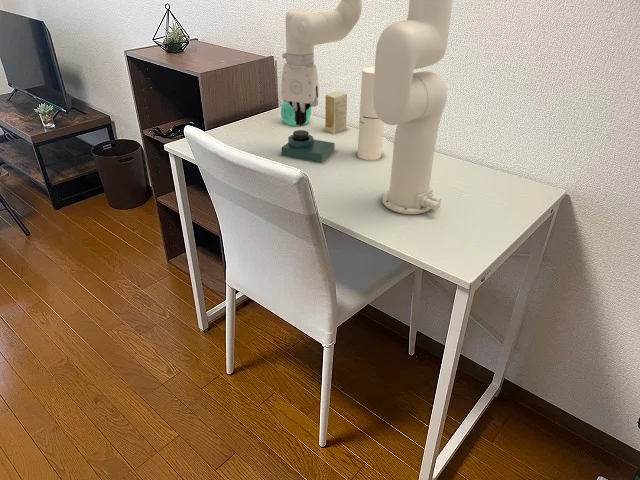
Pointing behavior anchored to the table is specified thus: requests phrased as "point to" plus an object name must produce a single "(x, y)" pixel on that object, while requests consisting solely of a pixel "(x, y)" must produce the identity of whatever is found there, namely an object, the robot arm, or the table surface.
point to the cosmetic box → (335, 112)
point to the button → (300, 135)
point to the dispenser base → (308, 149)
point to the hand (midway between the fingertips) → (300, 123)
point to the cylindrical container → (369, 120)
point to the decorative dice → (291, 114)
